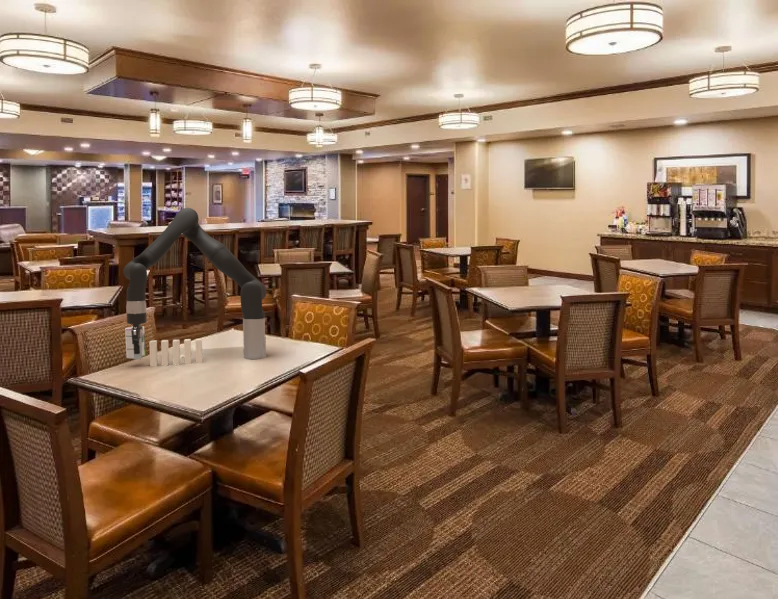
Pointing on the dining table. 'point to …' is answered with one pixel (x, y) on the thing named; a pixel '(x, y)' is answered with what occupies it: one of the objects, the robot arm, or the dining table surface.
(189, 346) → the domino
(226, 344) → the dining table surface
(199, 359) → the domino
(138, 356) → the domino
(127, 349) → the syrup box
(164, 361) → the domino
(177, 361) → the domino
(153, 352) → the domino
